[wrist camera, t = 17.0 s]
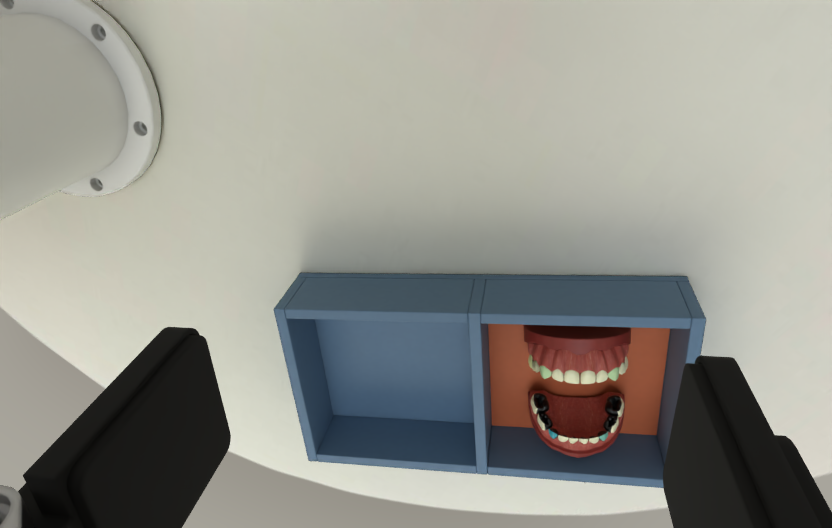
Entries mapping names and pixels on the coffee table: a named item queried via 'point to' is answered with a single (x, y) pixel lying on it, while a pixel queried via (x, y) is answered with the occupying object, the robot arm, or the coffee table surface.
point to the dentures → (564, 359)
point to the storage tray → (478, 369)
